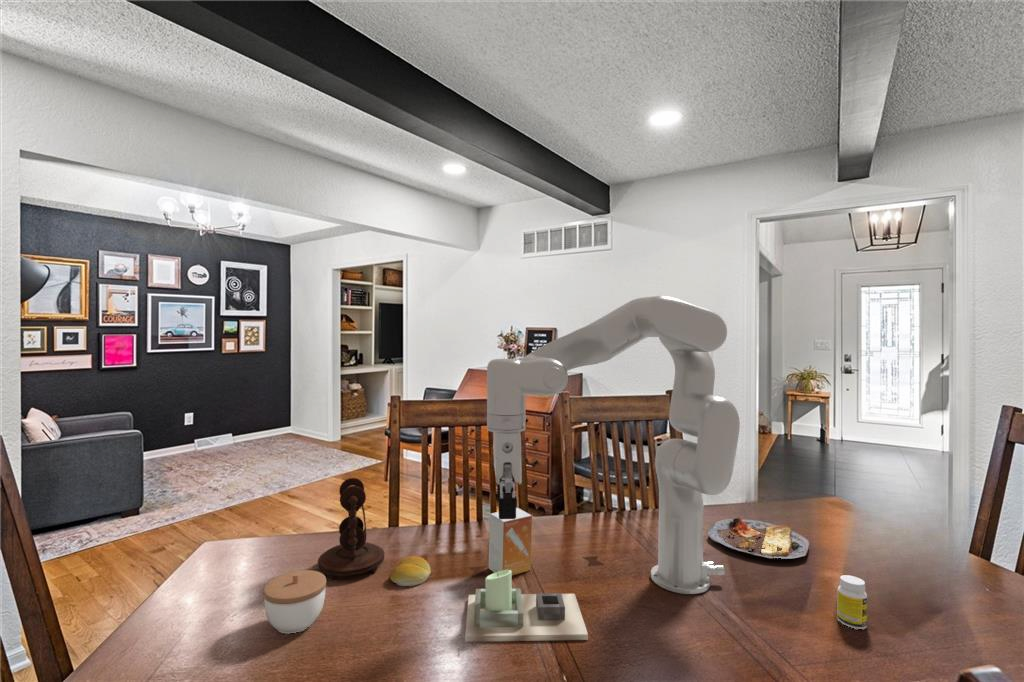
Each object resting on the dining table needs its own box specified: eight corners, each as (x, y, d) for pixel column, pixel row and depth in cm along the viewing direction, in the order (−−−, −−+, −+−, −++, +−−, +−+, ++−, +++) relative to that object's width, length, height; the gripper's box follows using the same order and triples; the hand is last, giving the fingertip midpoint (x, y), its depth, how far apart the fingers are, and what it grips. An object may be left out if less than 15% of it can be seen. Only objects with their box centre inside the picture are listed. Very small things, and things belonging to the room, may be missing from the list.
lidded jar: (281, 607, 98) (281, 560, 97) (334, 609, 97) (335, 562, 97) (251, 641, 87) (251, 588, 87) (311, 643, 87) (311, 590, 86)
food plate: (722, 518, 149) (722, 507, 149) (812, 539, 135) (812, 526, 135) (699, 549, 128) (700, 536, 128) (803, 577, 115) (803, 562, 115)
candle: (480, 618, 92) (480, 573, 93) (492, 607, 97) (492, 564, 98) (504, 623, 90) (504, 577, 91) (516, 612, 95) (515, 568, 96)
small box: (502, 579, 110) (503, 521, 110) (487, 568, 115) (488, 513, 115) (531, 570, 114) (532, 514, 114) (516, 560, 120) (517, 506, 120)
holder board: (574, 598, 102) (574, 581, 102) (587, 639, 88) (588, 620, 88) (468, 599, 101) (468, 582, 101) (465, 641, 87) (465, 622, 87)
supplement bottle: (867, 633, 91) (868, 588, 91) (837, 625, 94) (838, 581, 94) (865, 621, 95) (866, 577, 95) (836, 613, 98) (837, 571, 98)
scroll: (387, 576, 111) (388, 488, 111) (316, 587, 106) (317, 494, 106) (381, 549, 125) (381, 471, 124) (318, 558, 120) (319, 476, 119)
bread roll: (385, 586, 107) (385, 568, 107) (401, 567, 116) (402, 550, 116) (421, 590, 105) (421, 571, 105) (435, 571, 114) (435, 553, 114)
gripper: (529, 430, 88) (529, 526, 88) (522, 414, 105) (522, 494, 105) (487, 430, 87) (487, 526, 87) (486, 415, 104) (486, 495, 105)
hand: (506, 509), depth 96 cm, fingers open, 9 cm apart
